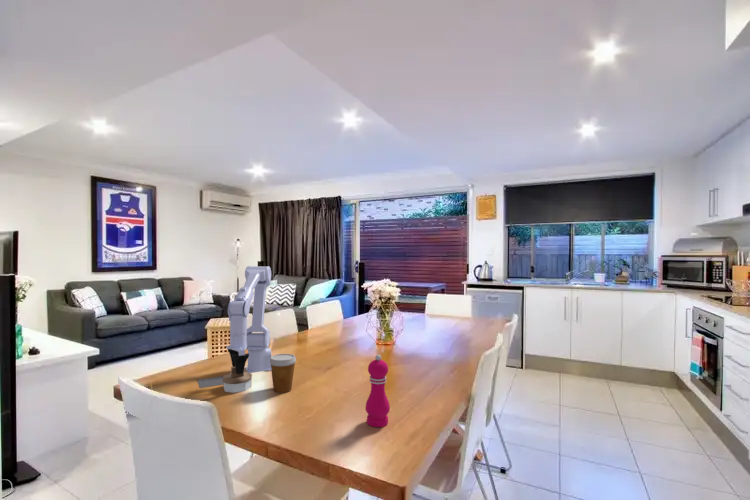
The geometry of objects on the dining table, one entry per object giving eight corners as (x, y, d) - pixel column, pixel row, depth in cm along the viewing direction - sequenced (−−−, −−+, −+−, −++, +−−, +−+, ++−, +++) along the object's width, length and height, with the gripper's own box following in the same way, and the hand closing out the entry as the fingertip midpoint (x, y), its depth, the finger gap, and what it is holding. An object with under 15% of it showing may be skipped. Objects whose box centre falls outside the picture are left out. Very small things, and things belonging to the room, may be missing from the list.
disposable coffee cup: (300, 387, 137) (301, 354, 137) (286, 396, 128) (287, 361, 128) (278, 384, 140) (279, 352, 140) (263, 392, 131) (263, 359, 131)
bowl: (247, 382, 141) (247, 373, 141) (253, 390, 133) (253, 380, 133) (222, 386, 136) (222, 377, 136) (226, 395, 128) (226, 385, 128)
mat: (224, 376, 147) (224, 375, 147) (229, 384, 139) (229, 383, 139) (197, 380, 142) (197, 379, 142) (199, 389, 134) (199, 388, 134)
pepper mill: (364, 417, 112) (365, 351, 112) (388, 416, 113) (388, 351, 113) (366, 428, 105) (366, 358, 105) (391, 427, 105) (391, 358, 106)
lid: (248, 373, 141) (248, 361, 141) (254, 381, 133) (254, 368, 133) (220, 377, 136) (220, 365, 136) (224, 385, 128) (225, 372, 128)
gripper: (223, 330, 139) (223, 366, 139) (230, 338, 126) (229, 378, 126) (243, 329, 142) (242, 364, 142) (251, 336, 130) (250, 374, 130)
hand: (237, 370), depth 134 cm, fingers open, 7 cm apart
